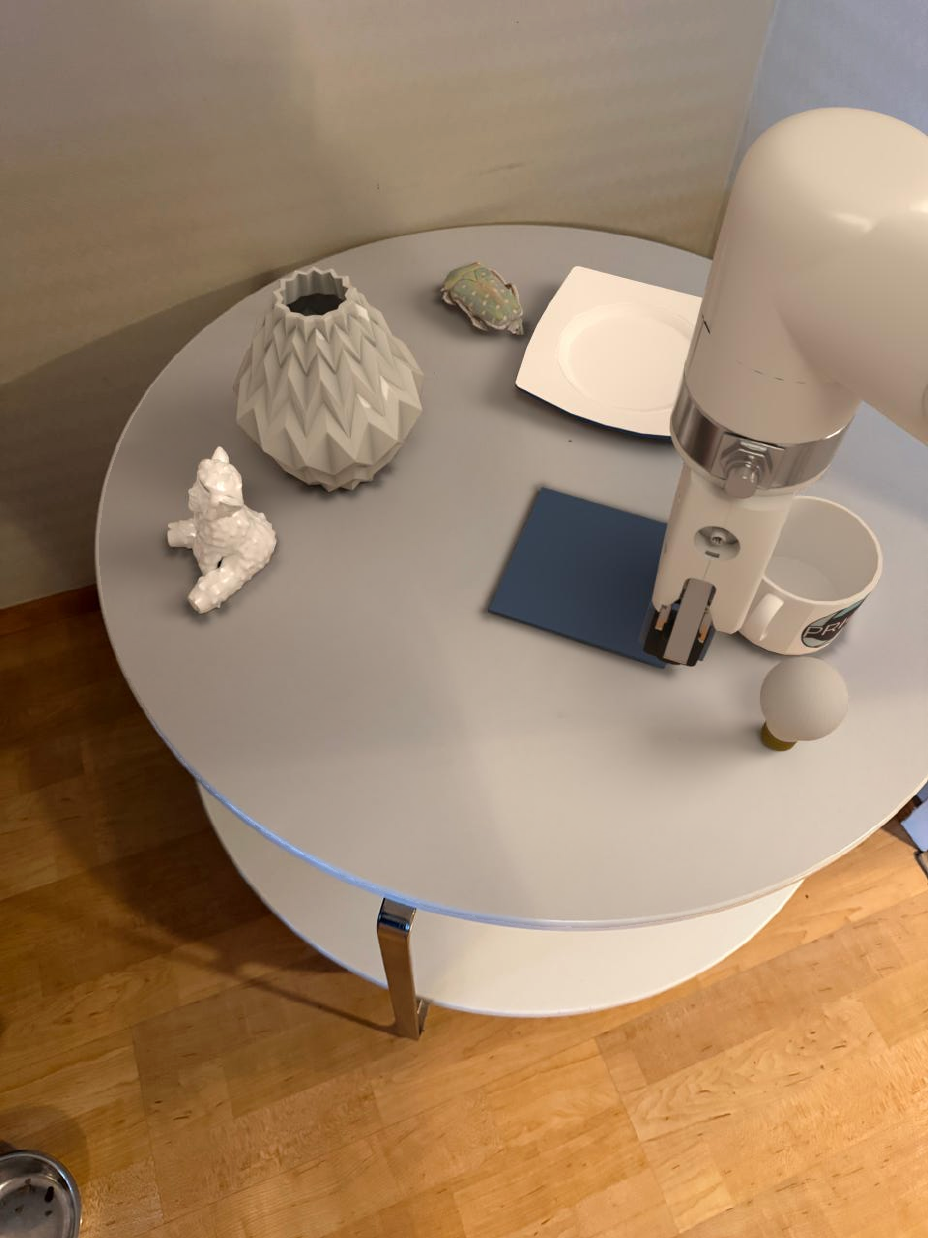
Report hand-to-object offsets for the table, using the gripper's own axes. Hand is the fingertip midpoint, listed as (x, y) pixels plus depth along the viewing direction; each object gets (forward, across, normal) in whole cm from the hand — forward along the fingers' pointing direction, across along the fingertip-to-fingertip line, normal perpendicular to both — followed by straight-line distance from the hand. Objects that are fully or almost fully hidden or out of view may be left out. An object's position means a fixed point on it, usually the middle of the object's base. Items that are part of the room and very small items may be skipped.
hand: (678, 622), depth 58 cm
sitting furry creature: (+18, +4, +37) cm, 41 cm away
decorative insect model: (+18, +42, +27) cm, 53 cm away
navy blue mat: (+17, +14, +7) cm, 23 cm away
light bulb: (+17, +4, -10) cm, 21 cm away
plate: (+17, +39, +10) cm, 44 cm away
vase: (+18, +18, +33) cm, 41 cm away
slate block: (0, 0, 0) cm, 0 cm away
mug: (+17, +15, -8) cm, 24 cm away
